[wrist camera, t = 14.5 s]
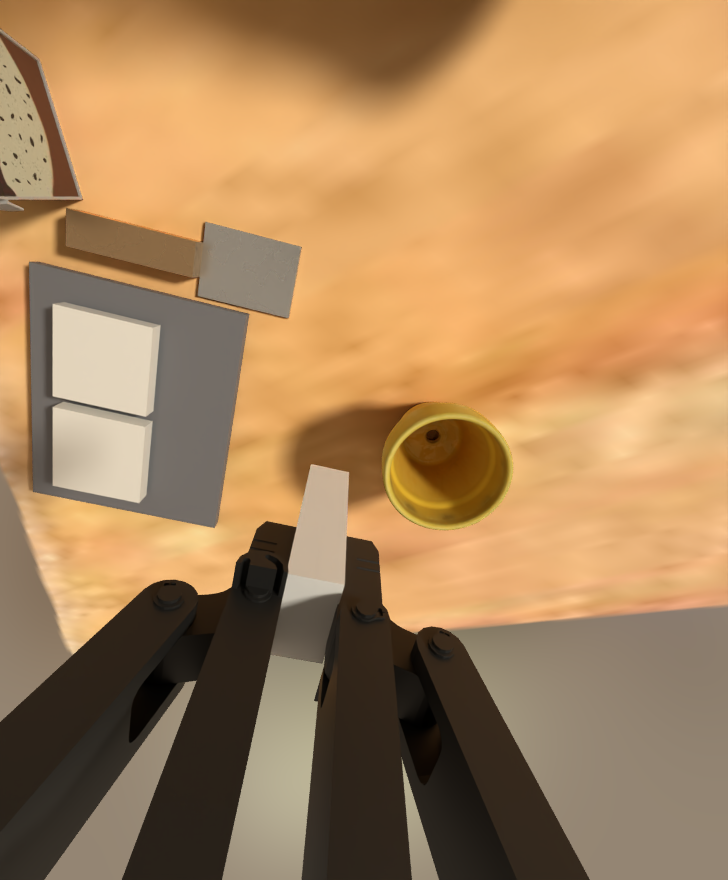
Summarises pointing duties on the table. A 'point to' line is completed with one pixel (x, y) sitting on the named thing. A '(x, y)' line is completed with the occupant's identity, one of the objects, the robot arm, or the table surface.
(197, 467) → the mat
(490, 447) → the plant pot
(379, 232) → the table surface
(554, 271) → the table surface
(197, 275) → the turner
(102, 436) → the tile
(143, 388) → the tile
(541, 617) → the table surface
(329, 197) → the table surface
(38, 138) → the food container
